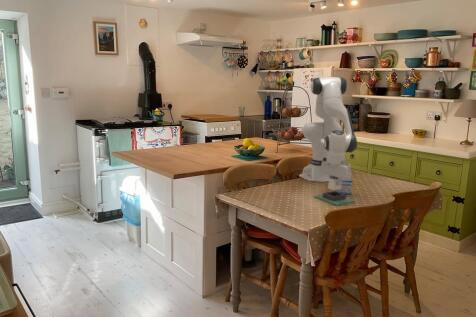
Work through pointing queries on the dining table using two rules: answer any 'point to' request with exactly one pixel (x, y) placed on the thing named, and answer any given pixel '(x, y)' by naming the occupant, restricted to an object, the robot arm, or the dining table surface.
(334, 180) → the keyed plug
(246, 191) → the dining table surface
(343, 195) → the header board
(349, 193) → the medicine box
